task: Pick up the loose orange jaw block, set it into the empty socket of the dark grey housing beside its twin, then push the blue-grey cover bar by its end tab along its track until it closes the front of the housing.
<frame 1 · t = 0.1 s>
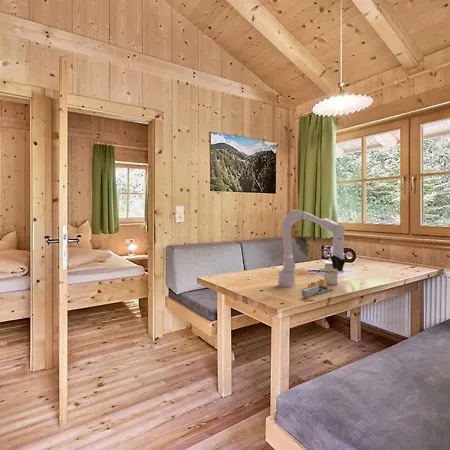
hand: (337, 269, 175), 10 cm above the table, tool pointing down, fingers open, 7 cm apart
supplement box: (330, 283, 186), on the table
housing: (315, 291, 167), on the table
jaw a: (313, 291, 164), point 1 cm above the table, touching housing
jaw b: (321, 287, 175), on the table
cover bar: (312, 291, 156), point 3 cm above the table, slide at 11.0 cm
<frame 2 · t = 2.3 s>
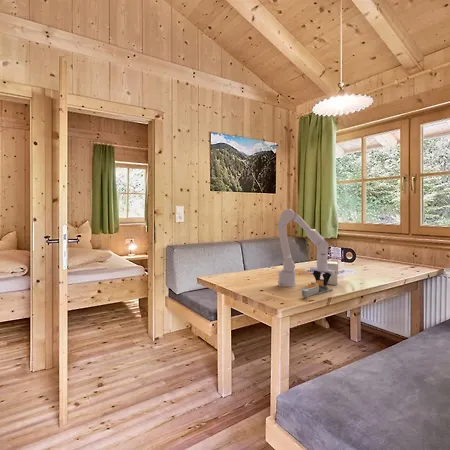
hand: (321, 285, 175), 1 cm above the table, tool pointing down, fingers closed on jaw b, 4 cm apart
jaw b: (321, 287, 175), on the table, touching gripper
everything else where it was.
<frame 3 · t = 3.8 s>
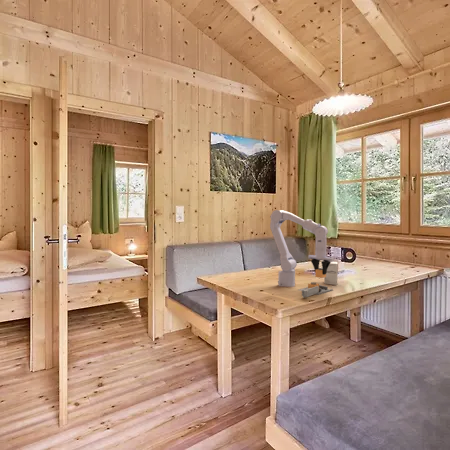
hand: (320, 273, 168), 9 cm above the table, tool pointing down, fingers closed on jaw b, 4 cm apart
jaw b: (320, 276, 169), point 8 cm above the table, touching gripper
everything else where it was.
when the fingers open (4 cm above the table, at t = 5.3 s): jaw b drops 1 cm, resting on housing.
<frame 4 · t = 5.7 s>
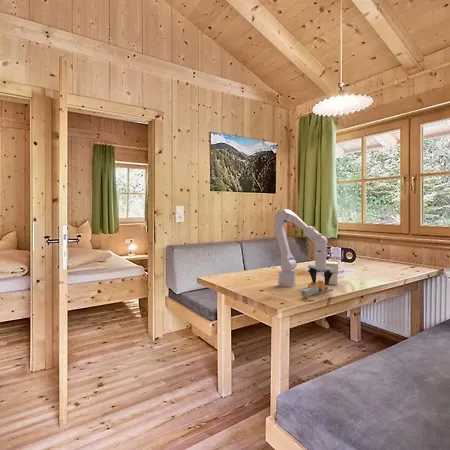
hand: (320, 283, 168), 4 cm above the table, tool pointing down, fingers open, 7 cm apart
jaw b: (320, 289, 169), point 1 cm above the table, touching housing
everything else where it was.
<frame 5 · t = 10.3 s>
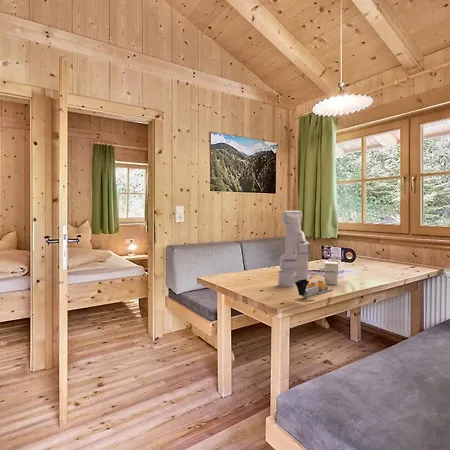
hand: (301, 295, 152), 2 cm above the table, tool pointing down, fingers closed
cover bar: (312, 291, 156), point 3 cm above the table, slide at 11.0 cm, touching gripper
everything else where it was.
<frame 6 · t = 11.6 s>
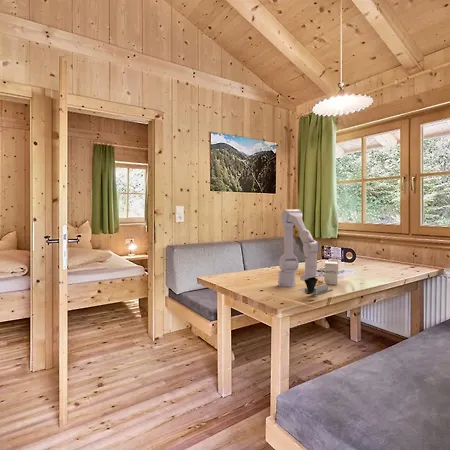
hand: (310, 292, 156), 2 cm above the table, tool pointing down, fingers closed
cover bar: (320, 289, 160), point 3 cm above the table, slide at 3.5 cm, touching gripper
everything else where it was.
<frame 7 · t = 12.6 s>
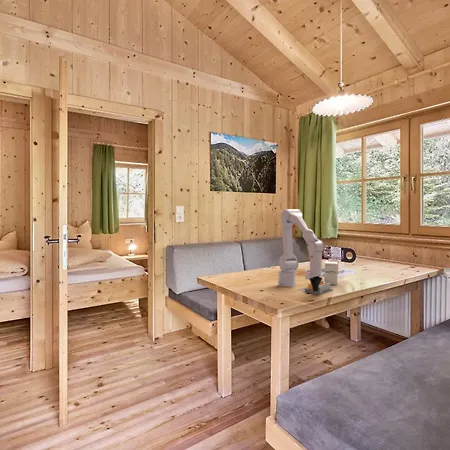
hand: (315, 291, 159), 2 cm above the table, tool pointing down, fingers closed
cover bar: (324, 288, 163), point 3 cm above the table, slide at -0.1 cm, touching gripper
everything else where it was.
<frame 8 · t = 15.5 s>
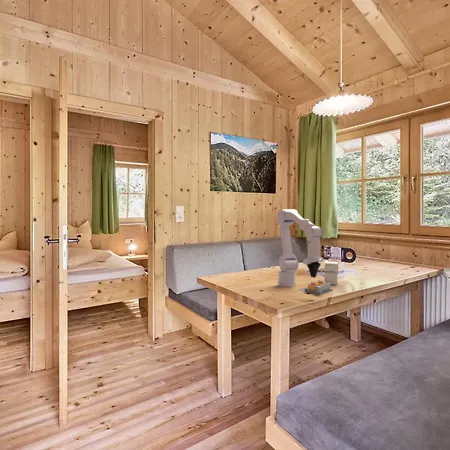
hand: (313, 277, 157), 10 cm above the table, tool pointing down, fingers closed
cover bar: (324, 288, 163), point 3 cm above the table, slide at 0.0 cm
everything else where it was.
at the end: jaw b 0.2 cm from the target spot, point 0.8 cm above the table; jaw b tilted 0°; cover bar slide at 0.0 cm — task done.
